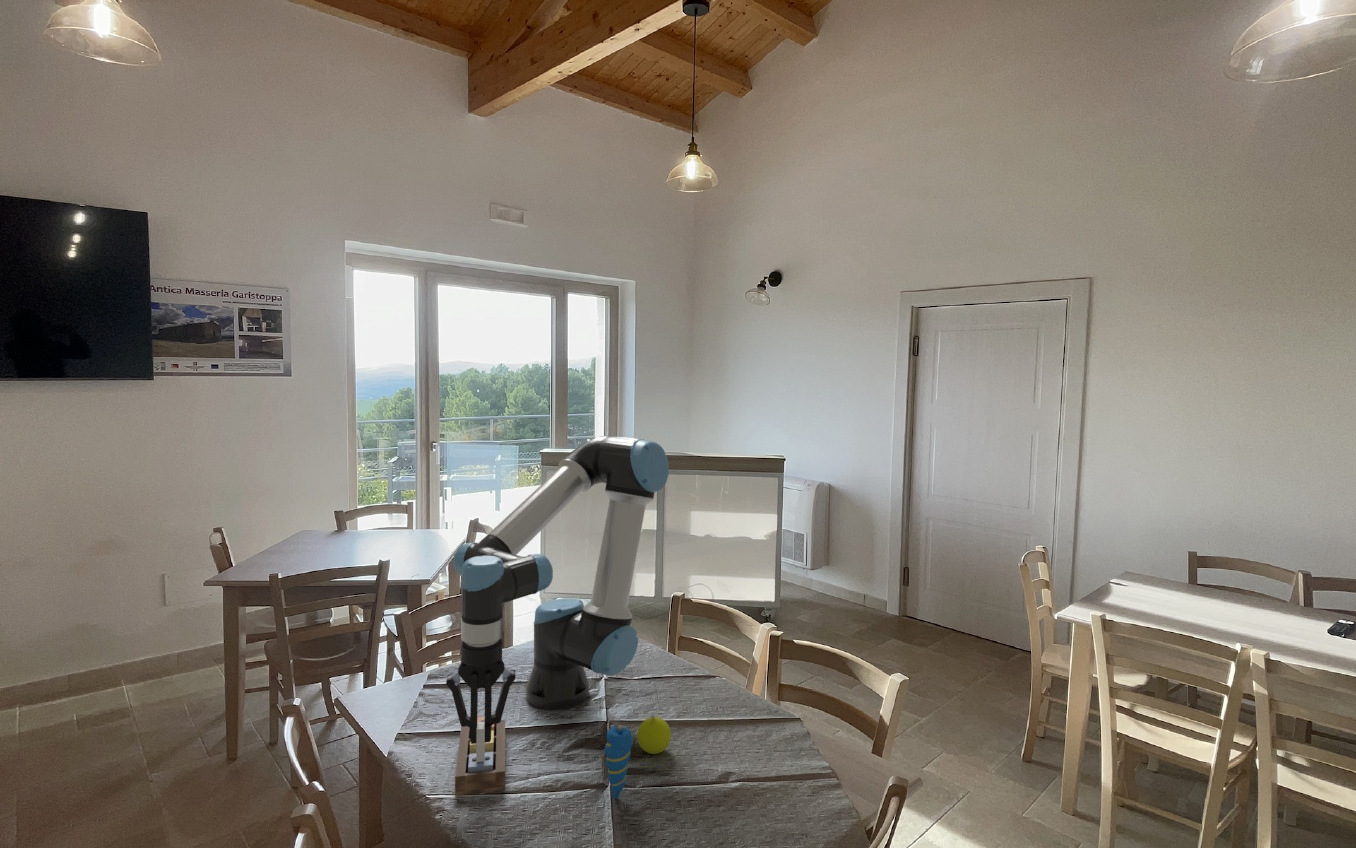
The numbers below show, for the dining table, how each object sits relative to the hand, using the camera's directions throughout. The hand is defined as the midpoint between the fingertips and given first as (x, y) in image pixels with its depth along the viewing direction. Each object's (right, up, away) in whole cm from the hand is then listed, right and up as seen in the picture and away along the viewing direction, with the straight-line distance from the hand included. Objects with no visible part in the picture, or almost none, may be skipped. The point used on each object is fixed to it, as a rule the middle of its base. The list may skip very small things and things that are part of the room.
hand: (480, 757), depth 132 cm
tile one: (-3, -1, +12) cm, 12 cm away
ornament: (+27, -6, -3) cm, 27 cm away
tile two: (-2, -2, +6) cm, 7 cm away
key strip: (-2, -4, +6) cm, 8 cm away
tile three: (0, -3, 0) cm, 3 cm away
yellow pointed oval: (+33, -5, +13) cm, 36 cm away
